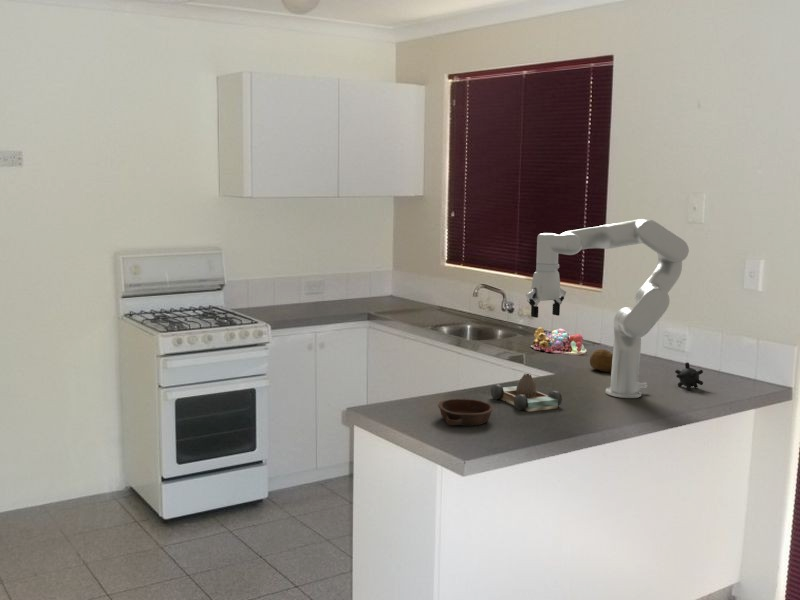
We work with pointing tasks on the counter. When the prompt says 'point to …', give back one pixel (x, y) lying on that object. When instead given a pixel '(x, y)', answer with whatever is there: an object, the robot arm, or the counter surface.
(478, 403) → the dish
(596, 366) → the potato
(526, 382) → the brown ovoid
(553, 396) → the cart chassis
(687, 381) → the toy ball
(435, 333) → the counter surface
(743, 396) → the counter surface
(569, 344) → the pastel sphere sculpture
